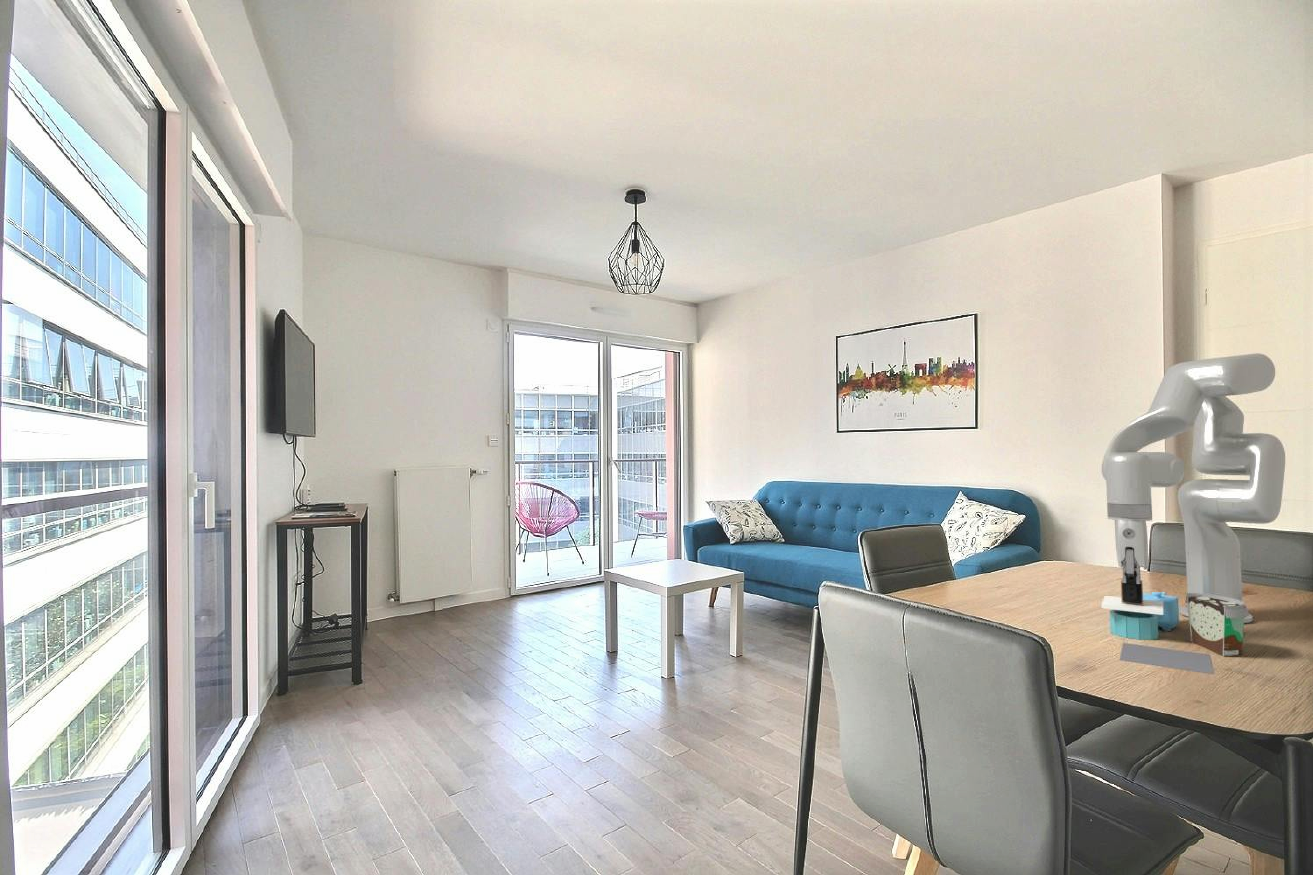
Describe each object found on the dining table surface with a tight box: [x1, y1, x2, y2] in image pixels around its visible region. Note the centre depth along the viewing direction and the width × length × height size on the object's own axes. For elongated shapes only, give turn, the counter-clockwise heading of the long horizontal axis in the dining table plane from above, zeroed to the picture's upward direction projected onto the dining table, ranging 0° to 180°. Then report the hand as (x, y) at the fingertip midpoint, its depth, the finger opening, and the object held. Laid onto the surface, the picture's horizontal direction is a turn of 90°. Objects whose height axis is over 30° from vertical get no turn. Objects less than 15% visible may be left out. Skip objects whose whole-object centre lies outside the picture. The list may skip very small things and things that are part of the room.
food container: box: [1185, 592, 1250, 658], centre depth 121 cm, size 12×6×10 cm, turn 168°
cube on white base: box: [1101, 578, 1163, 615], centre depth 132 cm, size 10×10×5 cm
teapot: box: [1143, 591, 1180, 632], centre depth 140 cm, size 12×6×8 cm, turn 131°
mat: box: [1119, 642, 1215, 675], centre depth 117 cm, size 13×13×1 cm
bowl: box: [1109, 609, 1159, 641], centre depth 132 cm, size 8×8×5 cm
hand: (1132, 599), depth 132 cm, fingers closed on cube on white base, 3 cm apart
